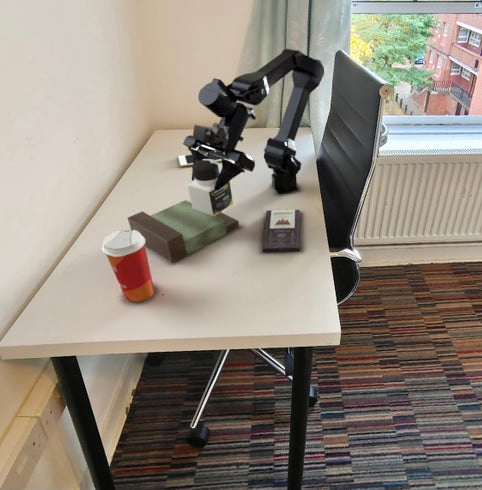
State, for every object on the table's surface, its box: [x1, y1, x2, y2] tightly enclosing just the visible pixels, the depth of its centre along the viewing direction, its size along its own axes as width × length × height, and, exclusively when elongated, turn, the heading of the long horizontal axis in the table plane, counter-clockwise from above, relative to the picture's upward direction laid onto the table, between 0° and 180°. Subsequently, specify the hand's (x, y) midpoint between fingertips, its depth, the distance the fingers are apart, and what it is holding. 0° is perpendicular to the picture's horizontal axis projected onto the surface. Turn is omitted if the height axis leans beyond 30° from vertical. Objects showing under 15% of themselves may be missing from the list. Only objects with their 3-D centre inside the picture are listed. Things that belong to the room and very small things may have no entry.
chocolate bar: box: [261, 209, 301, 253], centre depth 114 cm, size 9×1×18 cm
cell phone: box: [178, 151, 227, 168], centre depth 148 cm, size 8×16×1 cm, turn 113°
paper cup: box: [101, 229, 155, 303], centre depth 89 cm, size 8×8×14 cm
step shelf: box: [127, 199, 240, 264], centre depth 110 cm, size 20×16×6 cm
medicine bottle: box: [186, 159, 234, 216], centre depth 106 cm, size 7×7×12 cm
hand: (204, 185), depth 105 cm, fingers closed on medicine bottle, 7 cm apart
